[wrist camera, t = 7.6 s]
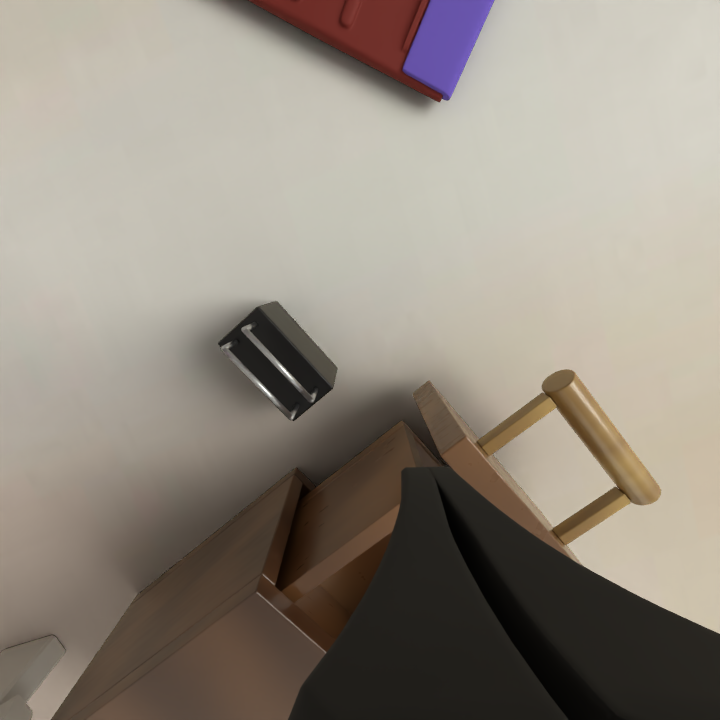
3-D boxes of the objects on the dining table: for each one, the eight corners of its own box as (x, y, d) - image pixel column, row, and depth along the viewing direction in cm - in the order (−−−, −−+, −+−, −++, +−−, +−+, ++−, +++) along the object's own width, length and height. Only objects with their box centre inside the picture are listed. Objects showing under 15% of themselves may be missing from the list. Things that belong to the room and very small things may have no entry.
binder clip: (276, 300, 19) (247, 308, 14) (338, 368, 20) (331, 399, 15) (242, 331, 19) (201, 351, 14) (304, 396, 20) (286, 436, 15)
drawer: (503, 320, 18) (585, 346, 12) (612, 463, 20) (735, 555, 14) (251, 520, 21) (202, 633, 14) (369, 628, 23) (373, 771, 16)
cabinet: (296, 466, 21) (255, 591, 13) (420, 589, 23) (455, 765, 15) (136, 595, 23) (12, 773, 15) (263, 696, 26) (217, 902, 17)
